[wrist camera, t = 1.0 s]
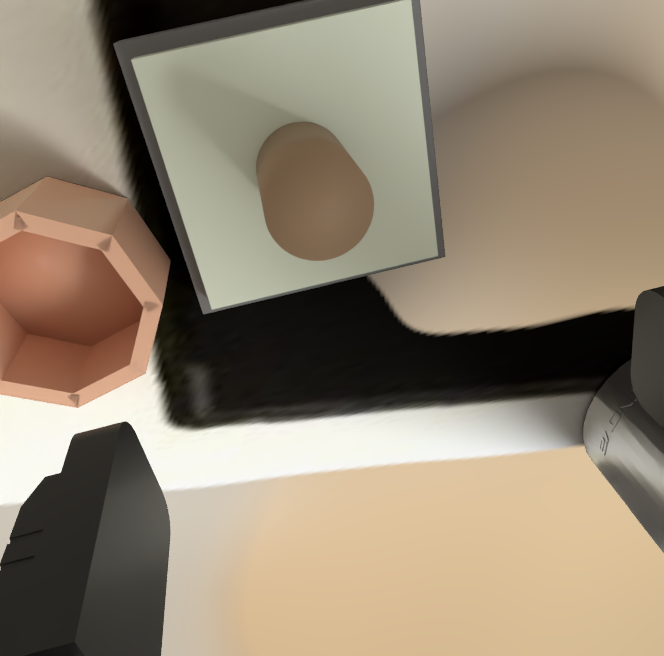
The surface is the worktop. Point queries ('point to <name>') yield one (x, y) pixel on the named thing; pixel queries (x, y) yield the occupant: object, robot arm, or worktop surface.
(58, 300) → the pink hollow octagonal piece
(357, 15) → the lid
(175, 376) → the worktop surface
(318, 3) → the mat
